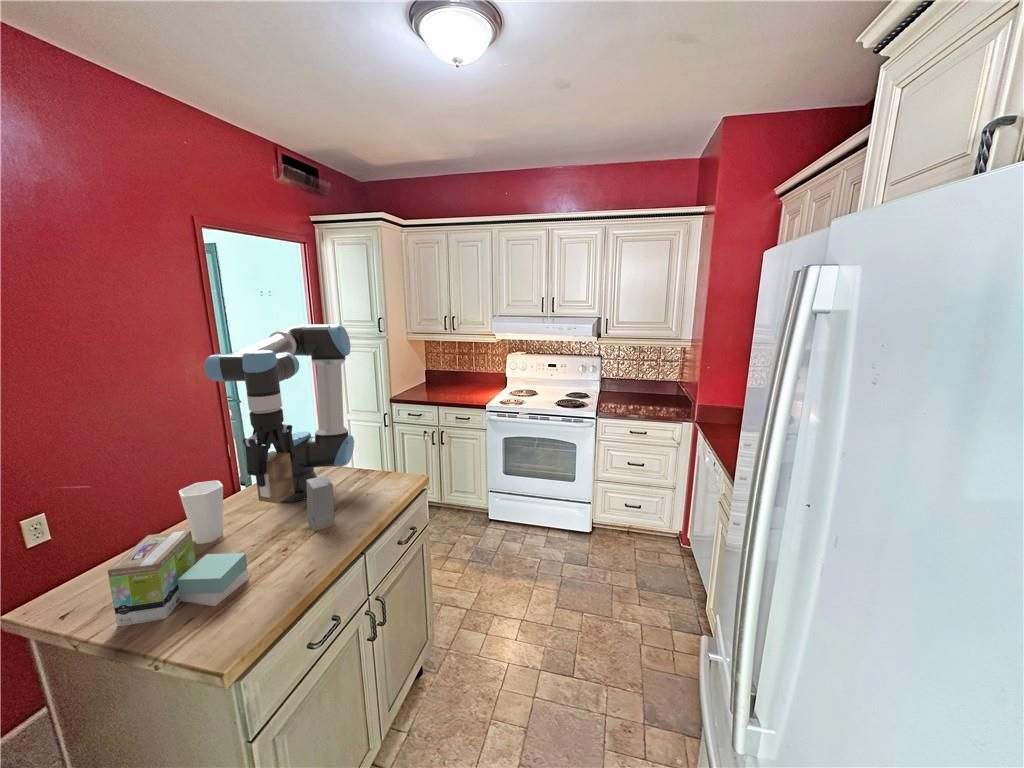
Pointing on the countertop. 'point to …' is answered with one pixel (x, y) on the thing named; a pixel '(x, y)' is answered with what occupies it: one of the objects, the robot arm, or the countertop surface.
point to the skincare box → (320, 502)
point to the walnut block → (278, 477)
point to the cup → (204, 510)
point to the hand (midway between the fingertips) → (276, 490)
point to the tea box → (150, 577)
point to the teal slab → (212, 573)
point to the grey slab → (215, 598)
